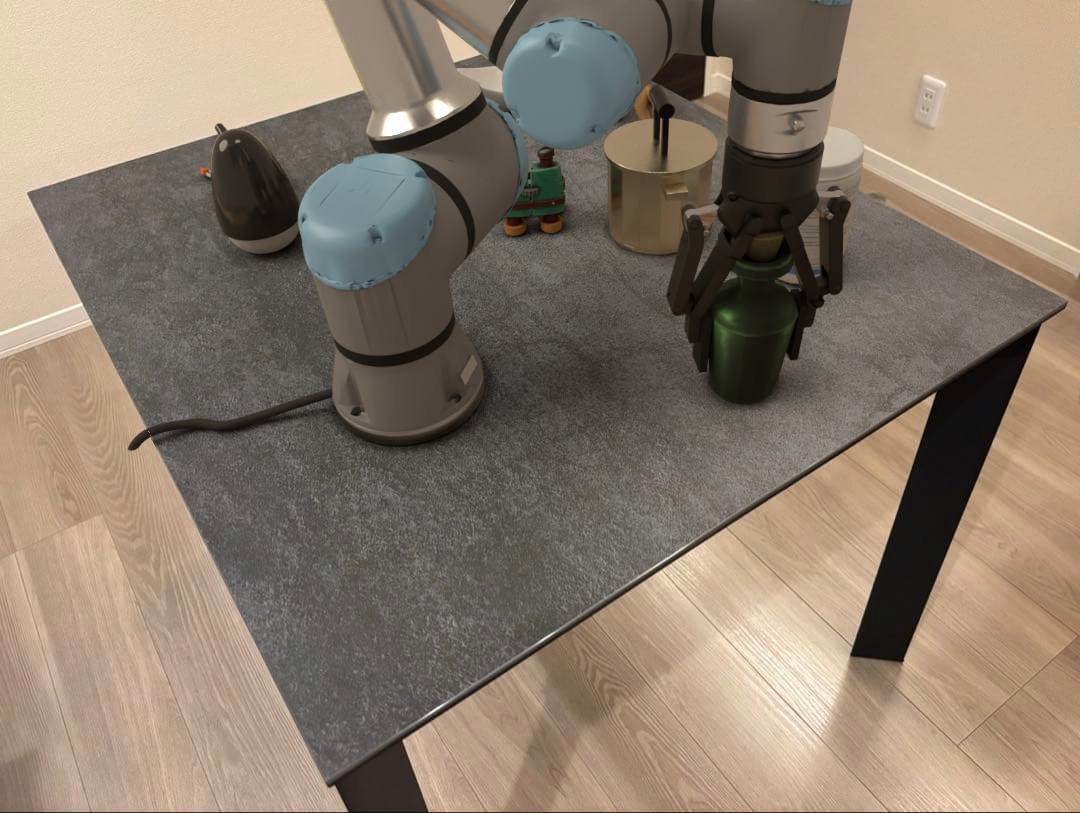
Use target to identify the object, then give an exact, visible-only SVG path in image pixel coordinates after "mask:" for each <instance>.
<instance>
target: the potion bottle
mask: <svg viewBox="0 0 1080 813" xmlns="http://www.w3.org/2000/svg"><path fill="white" fill-rule="evenodd" d="M783 237H784V233H783V231H779V232H771V233H764V234H758V235H757V236H756V237H755V238H754V240H753V241H752V243H751V245H750V246H749V248H748V249H747V251H746V253H745V254H744V256H743V258H742V259H740V260H739V259H738V260H737V261H736V263H735V265H734V266H733V268H732V270H731V271H730V273H732V274H734V275H737V277H731V278H729V279H726V280H725V281H724V283H723V285H722V286H721V288H720V290H719V291H718V293H717V294H716V296H715V298H714V299H713V301H712V303H711V304H710V306H709V308H708V310H709V312H710V314H711V317H712V328H711V338H710V348H709V358H708V385H709V386H710V388H711V389H712V391H713V392H714V393H715V394H717V395H718V396H719V397H721V398H722V399H723V400H725V401H728V402H731V403H734V404H743V405H744V404H745V405H750V404H754V403H759V402H762V401H764V400H765V399H767V398H768V397H770V396H772V395H773V392H774V391H775V388H776V387H777V384H778V380H779V376H780V373H781V370H782V368H783V364H784V361H785V358H786V356H787V354H786V352H787V348H788V345H789V342H790V339H791V335H792V332H793V329H794V326H795V322H796V319H797V316H798V309H797V303H796V301H795V299H794V297H793V295H792V294H791V292H790V289H788V287H787V286H786V285H784V284H782V283H781V282H779V281H777V280H778V279H777V278H781V277H782V276H784V275H786V274H787V273H789V272H790V270H791V269H792V267H793V265H794V263H793V259H792V254H791V253H790V251H789V249H788V248H787V246H786V244H785V243H784V241H783V243H782V244H781V242H782V240H783Z"/></svg>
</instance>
